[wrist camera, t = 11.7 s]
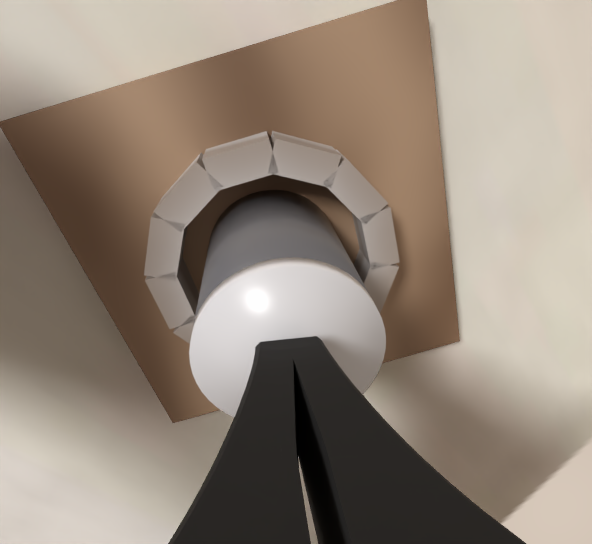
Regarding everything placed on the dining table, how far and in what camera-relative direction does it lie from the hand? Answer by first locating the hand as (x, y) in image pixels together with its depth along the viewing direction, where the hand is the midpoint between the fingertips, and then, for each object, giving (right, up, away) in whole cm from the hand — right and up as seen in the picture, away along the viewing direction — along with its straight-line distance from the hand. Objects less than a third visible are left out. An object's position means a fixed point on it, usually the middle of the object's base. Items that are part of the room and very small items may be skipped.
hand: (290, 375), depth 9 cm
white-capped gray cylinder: (-1, +3, +6) cm, 7 cm away
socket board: (-1, +3, +7) cm, 8 cm away
